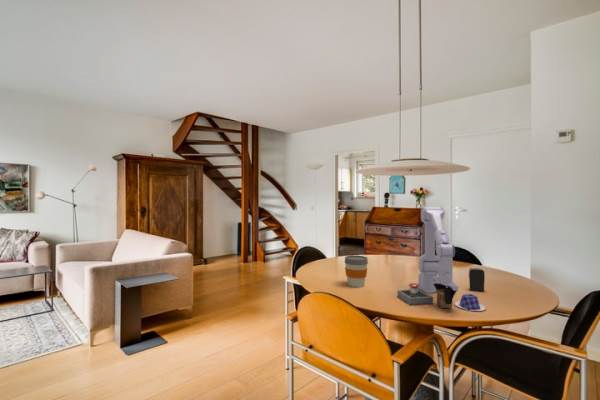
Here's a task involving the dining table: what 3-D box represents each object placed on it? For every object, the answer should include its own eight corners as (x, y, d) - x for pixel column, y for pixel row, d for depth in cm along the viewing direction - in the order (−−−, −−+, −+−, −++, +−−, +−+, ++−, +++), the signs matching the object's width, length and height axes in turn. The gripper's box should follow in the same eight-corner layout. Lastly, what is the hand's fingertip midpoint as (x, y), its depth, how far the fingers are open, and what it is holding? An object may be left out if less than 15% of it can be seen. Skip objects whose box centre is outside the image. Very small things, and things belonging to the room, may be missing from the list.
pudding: (467, 301, 141) (467, 290, 141) (492, 310, 130) (492, 298, 130) (448, 304, 137) (448, 293, 137) (472, 314, 126) (472, 301, 125)
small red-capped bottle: (415, 297, 144) (415, 282, 144) (420, 300, 140) (421, 285, 140) (407, 297, 143) (407, 283, 143) (412, 300, 139) (412, 286, 139)
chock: (435, 304, 134) (435, 289, 134) (446, 303, 135) (447, 288, 135) (442, 308, 130) (442, 293, 129) (453, 307, 131) (454, 292, 130)
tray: (397, 296, 147) (397, 290, 147) (418, 295, 149) (418, 289, 149) (410, 305, 135) (410, 298, 135) (432, 303, 137) (432, 297, 137)
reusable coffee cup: (367, 288, 159) (368, 260, 159) (343, 287, 161) (344, 259, 161) (367, 282, 171) (367, 255, 171) (345, 280, 174) (345, 255, 174)
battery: (483, 290, 157) (483, 268, 157) (484, 292, 153) (485, 269, 153) (468, 288, 159) (468, 267, 159) (469, 290, 156) (469, 268, 156)
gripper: (427, 267, 139) (426, 297, 139) (447, 275, 124) (447, 308, 125) (441, 267, 140) (440, 296, 140) (462, 275, 126) (462, 307, 126)
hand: (444, 302), depth 132 cm, fingers closed on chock, 4 cm apart
